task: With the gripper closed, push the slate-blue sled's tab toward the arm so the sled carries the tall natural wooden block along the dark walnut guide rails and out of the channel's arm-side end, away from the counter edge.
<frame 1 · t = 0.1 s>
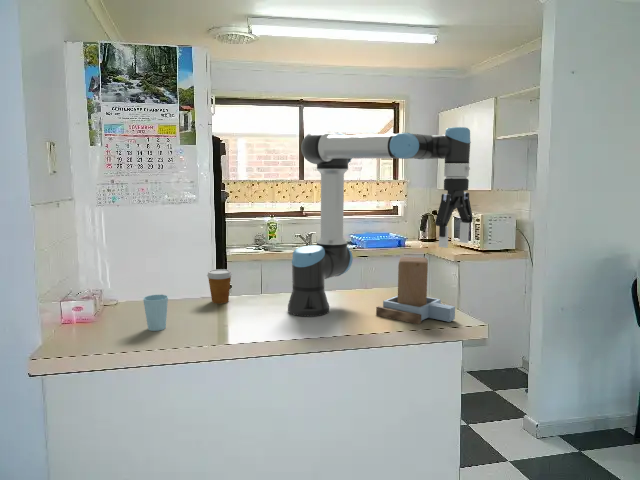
hand: (453, 244, 165), 28 cm above the countertop, fingers open, 13 cm apart
disposable coffee cup: (220, 302, 202), on the countertop
rails: (410, 313, 187), on the countertop
sled: (422, 308, 184), point 3 cm above the countertop, slide at 0.0 cm
cup: (157, 329, 169), on the countertop
wooden block: (411, 314, 186), resting in sled
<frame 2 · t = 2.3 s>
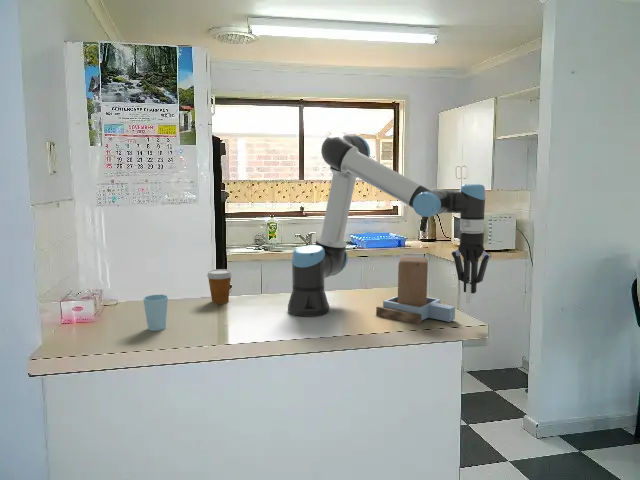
hand: (469, 302, 172), 8 cm above the countertop, fingers closed
nothing on the countertop moved.
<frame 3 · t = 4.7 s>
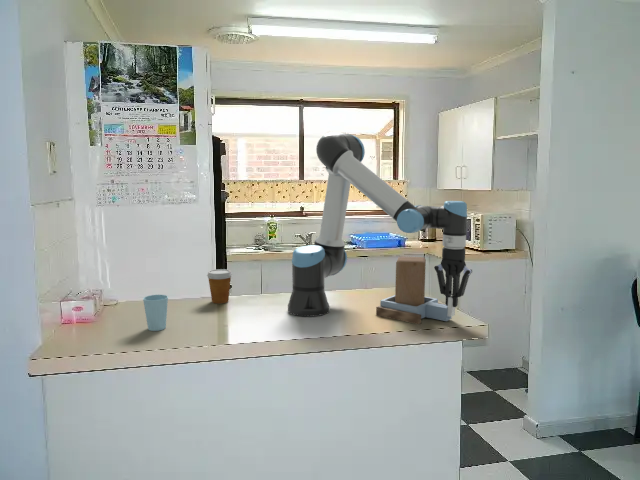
hand: (451, 315, 177), 2 cm above the countertop, fingers closed
sled: (419, 307, 184), point 3 cm above the countertop, slide at 1.2 cm, touching gripper, wooden block
wooden block: (409, 313, 187), resting in sled
everything else where it was.
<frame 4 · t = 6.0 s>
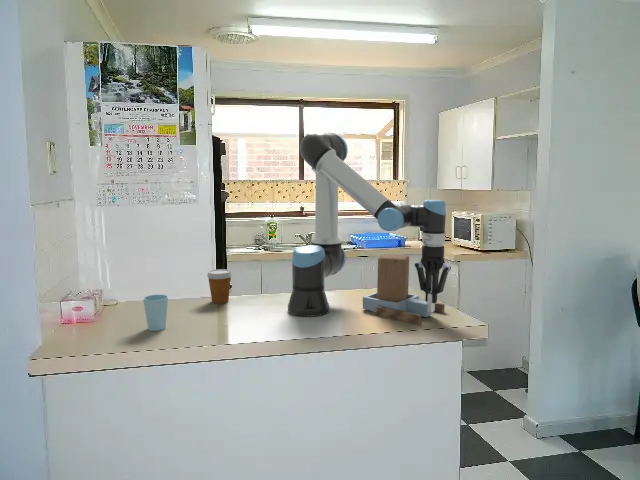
hand: (430, 311, 181), 2 cm above the countertop, fingers closed
sled: (400, 304, 189), point 3 cm above the countertop, slide at 8.8 cm, touching gripper, wooden block
wooden block: (392, 309, 192), resting in sled
everything else where it was.
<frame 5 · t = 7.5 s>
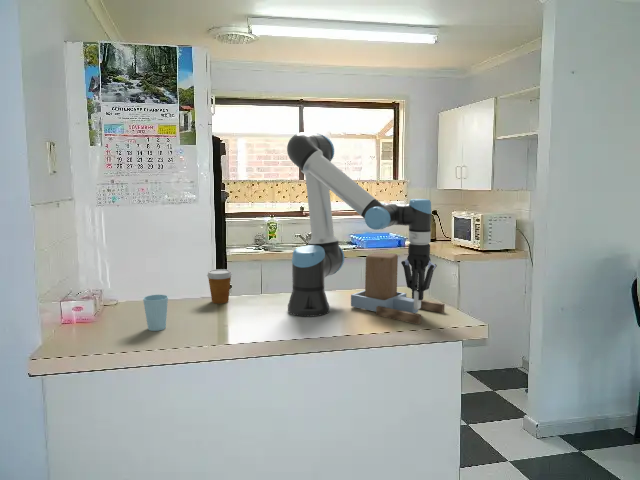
hand: (417, 308, 185), 2 cm above the countertop, fingers closed
sled: (387, 301, 192), point 3 cm above the countertop, slide at 14.1 cm, touching gripper, wooden block
wooden block: (380, 307, 195), resting in sled
everything else where it was.
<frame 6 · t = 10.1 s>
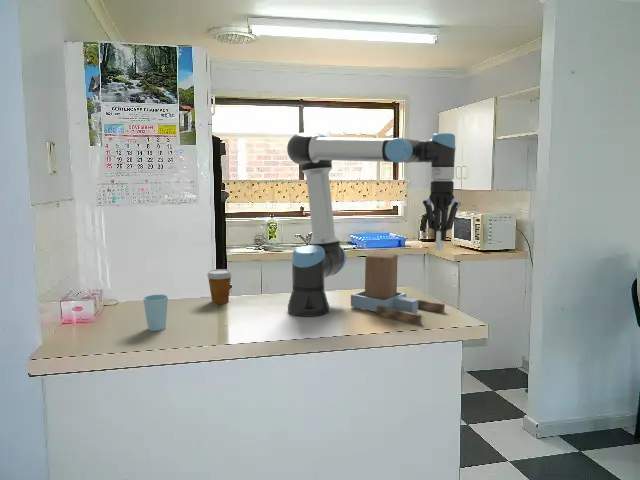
hand: (439, 249, 177), 24 cm above the countertop, fingers closed
sled: (387, 301, 192), point 3 cm above the countertop, slide at 14.2 cm
wooden block: (380, 307, 195), resting in sled
everything else where it was.
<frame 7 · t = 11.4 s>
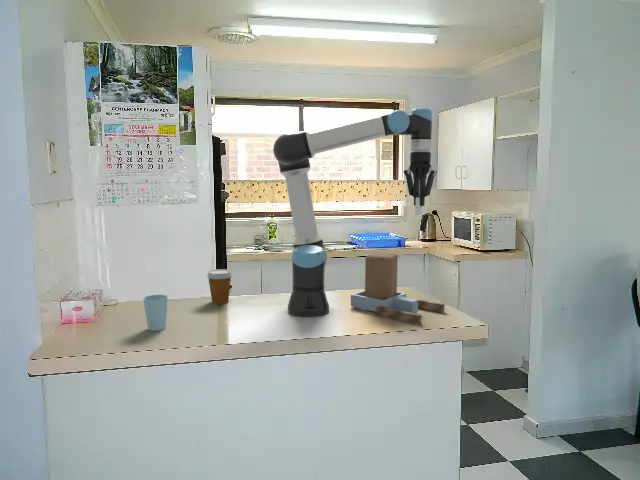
hand: (418, 214, 196), 34 cm above the countertop, fingers closed
nothing on the countertop moved.
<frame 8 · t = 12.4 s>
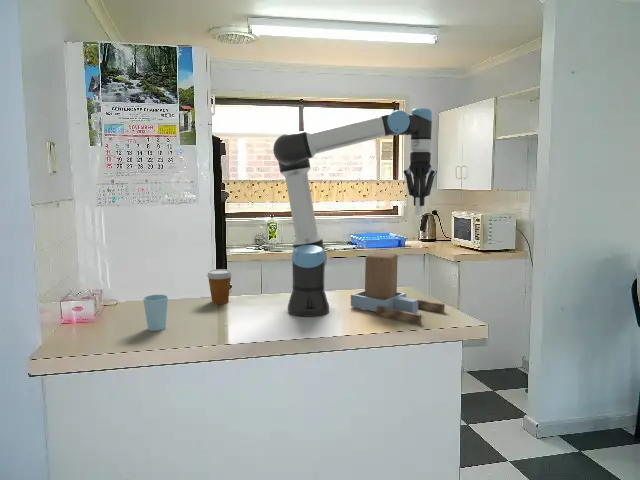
hand: (418, 214, 196), 34 cm above the countertop, fingers closed
nothing on the countertop moved.
at the end: sled slide at 14.2 cm; wooden block inside the target area (0.6 cm from its centre), resting in sled; wooden block tilted 0° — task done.
